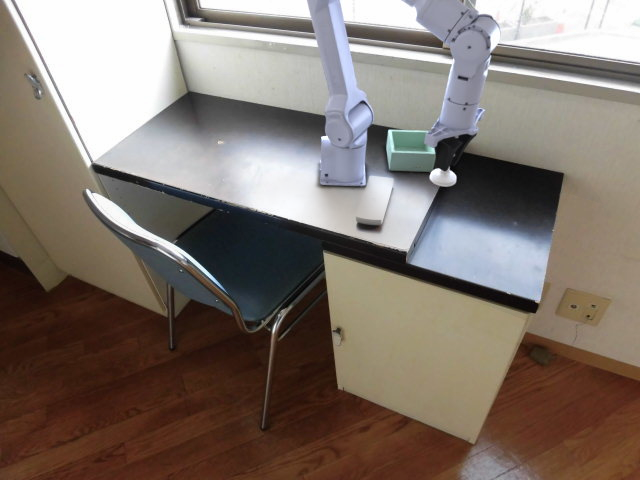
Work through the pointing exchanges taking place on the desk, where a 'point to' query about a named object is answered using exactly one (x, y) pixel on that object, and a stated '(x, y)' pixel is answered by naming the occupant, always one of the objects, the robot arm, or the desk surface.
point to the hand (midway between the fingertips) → (445, 166)
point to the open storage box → (409, 151)
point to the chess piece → (443, 176)
